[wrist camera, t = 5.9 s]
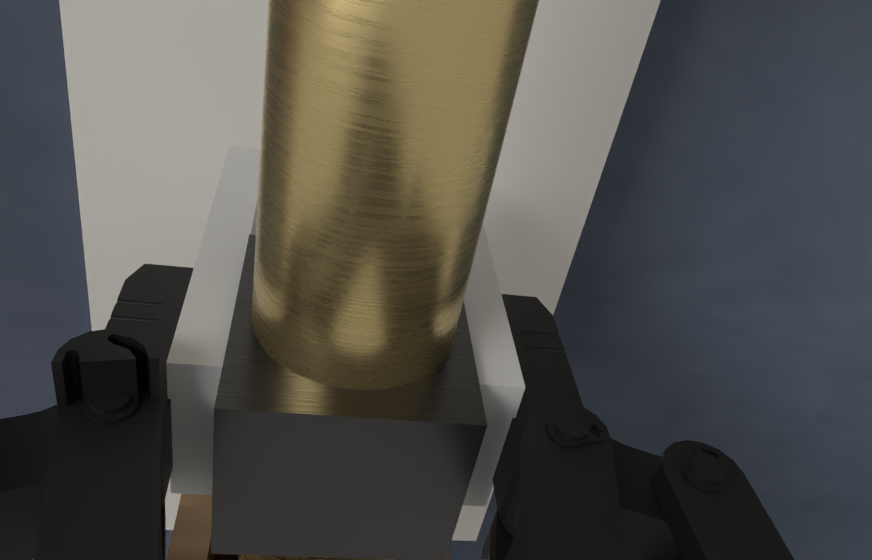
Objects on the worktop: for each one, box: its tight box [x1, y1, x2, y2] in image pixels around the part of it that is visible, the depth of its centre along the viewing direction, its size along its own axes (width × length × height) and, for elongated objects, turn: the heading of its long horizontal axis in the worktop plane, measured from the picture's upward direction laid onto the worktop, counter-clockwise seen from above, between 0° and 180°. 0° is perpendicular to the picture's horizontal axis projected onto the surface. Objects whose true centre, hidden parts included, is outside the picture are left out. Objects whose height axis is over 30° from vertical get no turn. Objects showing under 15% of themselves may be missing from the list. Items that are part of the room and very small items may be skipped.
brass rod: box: [211, 0, 539, 560], centre depth 10 cm, size 4×26×4 cm, turn 170°
